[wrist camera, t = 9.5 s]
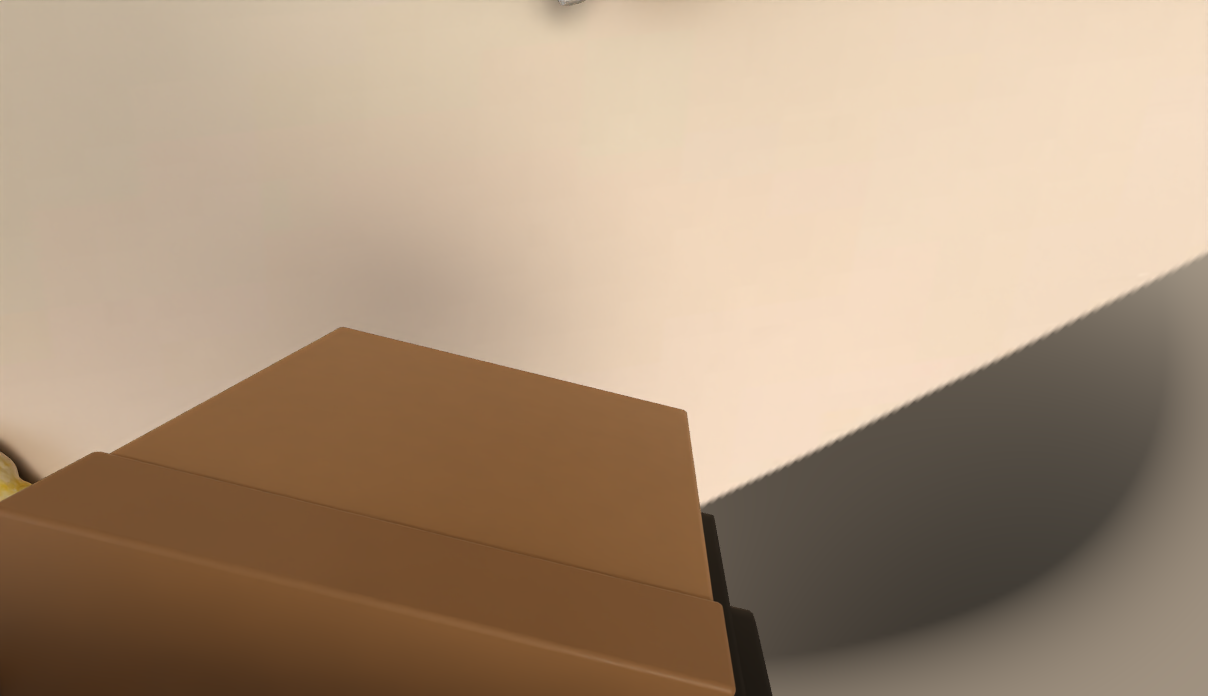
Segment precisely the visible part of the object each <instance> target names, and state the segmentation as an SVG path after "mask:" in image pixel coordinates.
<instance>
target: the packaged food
mask: <svg viewBox="0 0 1208 696" xmlns="http://www.w3.org/2000/svg"><path fill="white" fill-rule="evenodd" d="M584 1H585V0H558V2H559V3H560V4H561V5H563V6H570V5H574V4H578V3H581V2H584Z"/></svg>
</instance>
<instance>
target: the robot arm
mask: <svg viewBox="0 0 1208 696" xmlns="http://www.w3.org/2000/svg"><path fill="white" fill-rule="evenodd" d="M701 517H702V524H703V531H704V538H705V545H706V553H707V560H708V567H709V574H710V581H711V588H712V595H713V601H715V602H718V603H720V604H721V605H722V607H723V613H724V619H725V625H726V632H727V638H728V644H729V650H730V657H731V663H732V669H733V675H734V682H735V688H736V692H735V694H734V696H772V692H771V687H770V683H769V679H768V674H767V670H766V665H765V661H764V657H763V652H762V649H761V644H760V639H759V635H758V631H757V626H756V622H755V619H754V616H753V614H752V613H751V612H750V611H749V610H745V609H741V608H737V607H733V606H730V603H729V597H728V592H727V586H726V581H725V575H724V569H723V564H722V558H721V553H720V547H719V542H718V536H717V530H716V525H715V520H714V516H713V515H710V514H705V513H701Z"/></svg>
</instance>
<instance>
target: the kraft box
mask: <svg viewBox="0 0 1208 696" xmlns="http://www.w3.org/2000/svg"><path fill="white" fill-rule="evenodd" d="M735 692H736V688H735V682H734V675H733V669H732V663H731V657H730V650H729V644H728V638H727V632H726V625H725V619H724V613H723V607H722V605H721V604H720V603H718V602H715V601H713V595H712V588H711V581H710V574H709V567H708V560H707V553H706V545H705V538H704V531H703V524H702V517H701V510H700V503H699V496H698V489H697V482H696V475H695V468H694V461H693V454H692V447H691V440H690V433H689V425H688V418H687V412H686V411H684V410H681V409H677V408H673V407H669V406H665V405H661V404H657V403H653V402H649V401H645V400H640V399H636V398H632V397H628V396H624V395H620V394H616V393H612V392H608V391H603V390H599V389H595V388H591V387H587V386H583V385H579V384H575V383H571V382H567V381H562V380H558V379H554V378H550V377H546V376H542V375H538V374H534V373H530V372H526V371H521V370H517V369H513V368H509V367H505V366H501V365H497V364H493V363H489V362H485V361H480V360H476V359H472V358H468V357H464V356H460V355H456V354H452V353H448V352H444V351H439V350H435V349H431V348H427V347H423V346H419V345H415V344H411V343H407V342H403V341H398V340H394V339H390V338H386V337H382V336H378V335H374V334H370V333H366V332H362V331H357V330H353V329H349V328H345V327H340V328H338V329H336V330H334V331H333V332H331V333H329V334H327V335H325V336H324V337H322V338H320V339H318V340H316V341H314V342H313V343H311V344H309V345H307V346H305V347H303V348H302V349H300V350H298V351H296V352H294V353H292V354H291V355H289V356H287V357H285V358H283V359H281V360H280V361H278V362H276V363H274V364H272V365H271V366H269V367H267V368H265V369H263V370H261V371H260V372H258V373H256V374H254V375H252V376H250V377H249V378H247V379H245V380H243V381H241V382H239V383H238V384H236V385H234V386H232V387H230V388H228V389H227V390H225V391H223V392H221V393H219V394H218V395H216V396H214V397H212V398H210V399H208V400H207V401H205V402H203V403H201V404H199V405H197V406H196V407H194V408H192V409H190V410H188V411H186V412H185V413H183V414H181V415H179V416H177V417H176V418H174V419H172V420H170V421H168V422H166V423H165V424H163V425H161V426H159V427H157V428H155V429H154V430H152V431H150V432H148V433H146V434H144V435H143V436H141V437H139V438H137V439H135V440H133V441H132V442H130V443H128V444H126V445H124V446H123V447H121V448H119V449H117V450H115V451H113V452H112V453H110V454H108V453H104V452H93V453H91V454H89V455H87V456H85V457H83V458H81V459H79V460H78V461H76V462H74V463H72V464H70V465H68V466H66V467H64V468H62V469H61V470H59V471H57V472H55V473H53V474H51V475H49V476H47V477H45V478H44V479H42V480H40V481H38V482H36V483H34V484H32V485H30V486H28V487H26V488H25V489H23V490H21V491H19V492H17V493H15V494H13V495H11V496H9V497H8V498H6V499H4V500H2V501H0V696H734V694H735Z"/></svg>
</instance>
